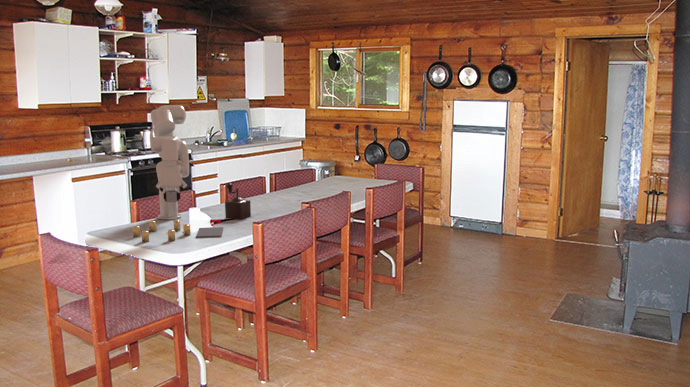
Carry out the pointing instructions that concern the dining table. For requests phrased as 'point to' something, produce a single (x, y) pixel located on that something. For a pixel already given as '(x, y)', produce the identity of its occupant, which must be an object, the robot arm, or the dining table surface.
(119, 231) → the dining table surface
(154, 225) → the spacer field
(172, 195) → the dark grey block
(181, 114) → the robot arm
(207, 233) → the mat
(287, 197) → the dining table surface
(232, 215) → the dark brown coffee grinder
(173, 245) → the dining table surface
